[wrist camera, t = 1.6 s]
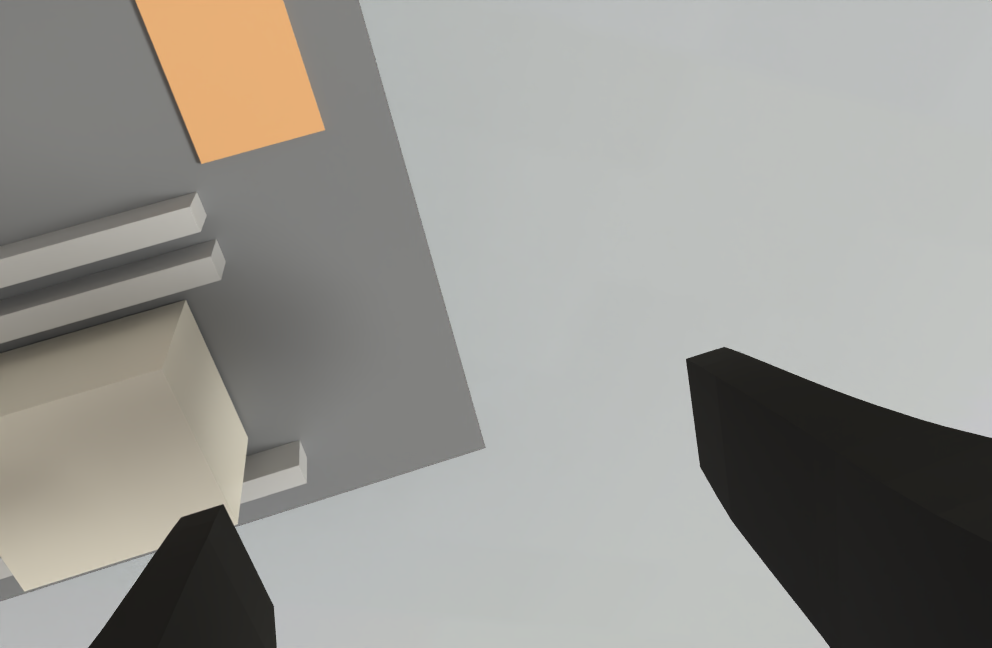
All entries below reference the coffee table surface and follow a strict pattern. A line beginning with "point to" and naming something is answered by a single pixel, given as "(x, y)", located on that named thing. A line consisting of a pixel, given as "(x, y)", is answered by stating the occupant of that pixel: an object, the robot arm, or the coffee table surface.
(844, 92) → the coffee table surface
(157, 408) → the tab
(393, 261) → the switch board
